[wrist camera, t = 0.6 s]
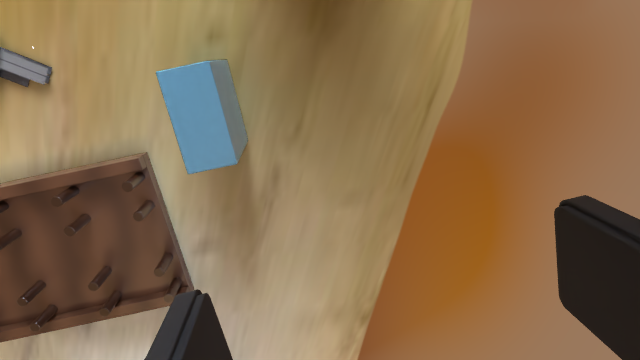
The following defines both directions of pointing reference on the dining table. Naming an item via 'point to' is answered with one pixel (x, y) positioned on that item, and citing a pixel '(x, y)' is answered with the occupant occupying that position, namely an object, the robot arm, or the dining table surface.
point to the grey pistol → (22, 68)
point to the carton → (204, 114)
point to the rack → (85, 247)
